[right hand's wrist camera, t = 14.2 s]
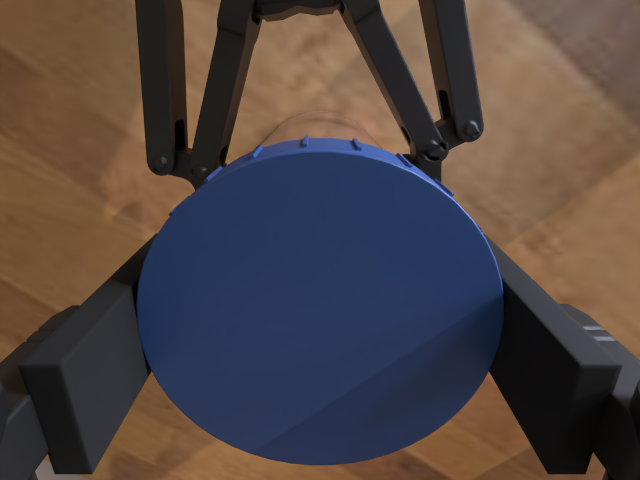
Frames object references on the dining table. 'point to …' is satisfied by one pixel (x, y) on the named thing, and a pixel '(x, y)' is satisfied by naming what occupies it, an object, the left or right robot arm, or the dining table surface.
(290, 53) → the dining table surface
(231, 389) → the lid
